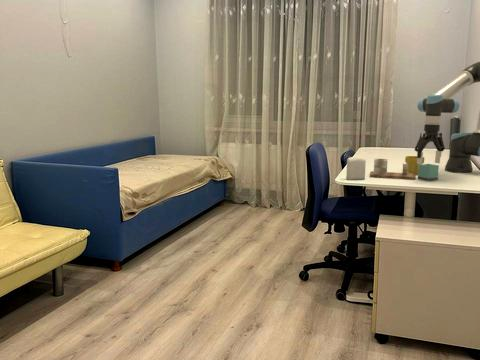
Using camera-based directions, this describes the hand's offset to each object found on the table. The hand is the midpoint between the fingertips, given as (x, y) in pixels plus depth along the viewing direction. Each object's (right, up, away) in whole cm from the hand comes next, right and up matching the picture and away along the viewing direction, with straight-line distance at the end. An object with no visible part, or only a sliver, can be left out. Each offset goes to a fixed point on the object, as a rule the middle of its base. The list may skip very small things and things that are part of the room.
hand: (428, 163), depth 237 cm
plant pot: (+1, -5, +22) cm, 22 cm away
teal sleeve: (0, -9, +2) cm, 9 cm away
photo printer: (-39, -9, +3) cm, 40 cm away
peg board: (-16, -7, +10) cm, 20 cm away
